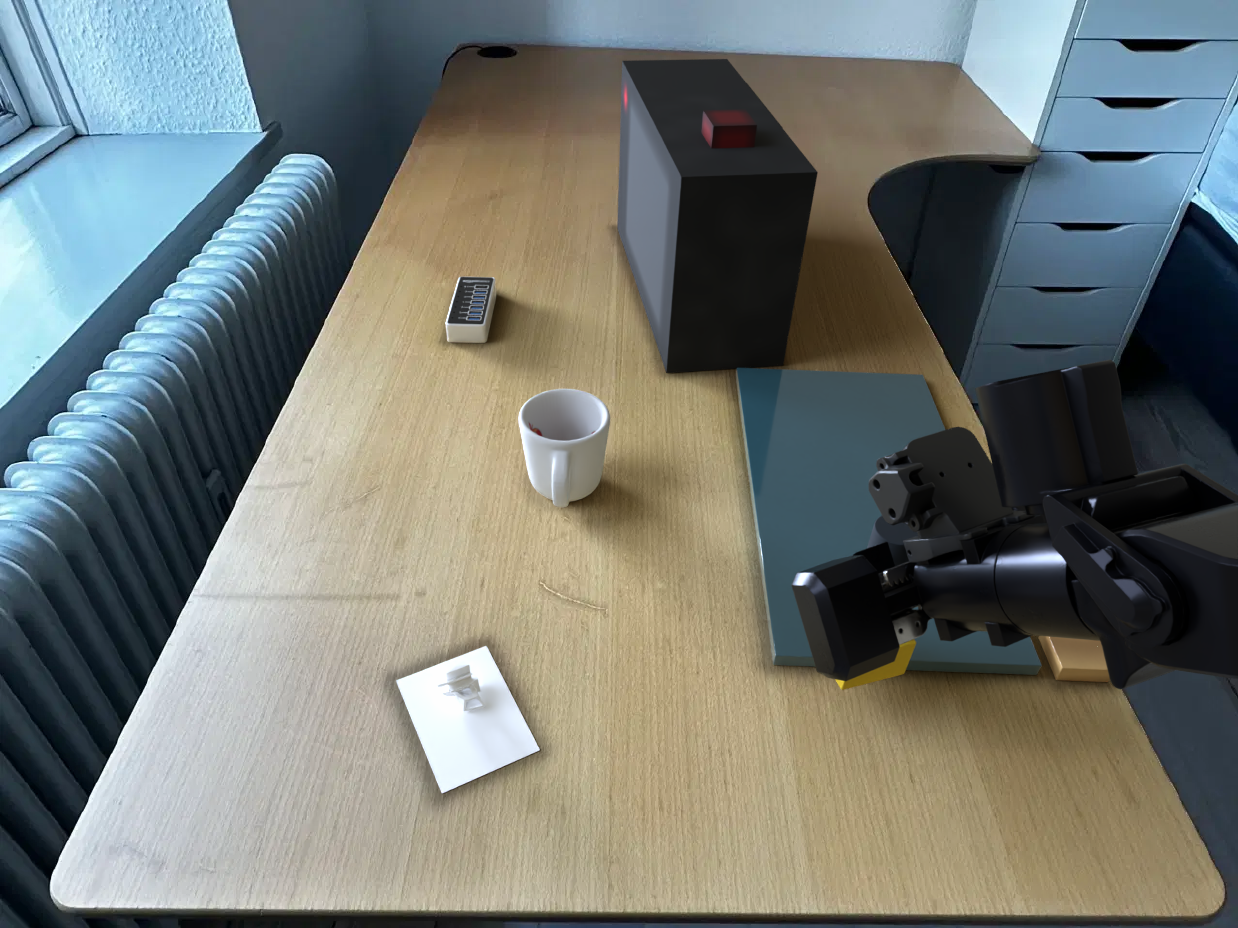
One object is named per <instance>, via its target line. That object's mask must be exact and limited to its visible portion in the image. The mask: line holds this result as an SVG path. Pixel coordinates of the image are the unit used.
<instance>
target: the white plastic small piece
mask: <svg viewBox="0 0 1238 928" xmlns="http://www.w3.org/2000/svg"><path fill="white" fill-rule="evenodd" d="M445 679H446V682H444V683H440V684H438V685H437V687H438V688H440V689H439V690H440V694H441V695H443V696H445V697H454V696H455V697H456V699H457V701H458V703H459V705H460V708H461V710H462V711H463V712H467V711H472V710H476V709H481V708H485V707H486V704H485V703H484V701H483V699H482V697H481V696H480V694H479V693H480V692H481V686H480V681H479V677H478V675H477V674H475V675H473V673H472V672H471V665H470V664H457V665H455V666H454V667H453V668H452V669H450V670H449V671H448V672H447V673H446V674H445Z"/></svg>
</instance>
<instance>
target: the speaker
mask: <svg viewBox="0 0 1238 928" xmlns="http://www.w3.org/2000/svg"><path fill="white" fill-rule="evenodd" d="M620 90H621V91H620V98H621V99H620V120H619V121H620V127H619V155H618V156H619V159H618V162H619V163H618V188H617V189H618V191H617V192H618V193H617V197H618V198H617V221H616V222H617V225H616V228H617V232H618V235H619V237H620V238H619V239H620V240H621V243H622V246H623V248H624V253H625V256H626V258H627V262H628V264H629V267H630V271H631V273H632V276H633V279H634V283H635V285H636V287H637V291H638V294H639V297H640V299H641V303H642V306H643V308H644V311H645V314H646V317H647V320H648V323H649V327H650V329H651V333H652V336H653V338H654V341H655V343H656V346H657V350H658V353H659V355H660V358H661V362H662V365H663V367H664V370H665V373H666V374H673V373H687V372H688V373H691V372H706V371H719V370H720V371H721V370H733V369H735V370H737V368H764V367H766V368H767V367H780V366H781V367H783V366H784V363H785V358H786V352H787V347H788V341H789V337H790V330H791V325H792V324H791V323H792V318H793V313H794V307H795V301H796V296H797V291H798V286H799V285H798V284H799V279H800V273H801V268H802V264H803V263H802V262H803V256H804V251H805V246H806V240H807V234H808V229H809V224H810V219H811V213H812V208H813V207H812V205H813V203H814V202H813V201H814V195H815V190H816V184H817V178H818V173H819V172H818V170H817V169H816V168H815V167H814V166H813V164H812V163H811V162H810V160H808V157H806V155H805V154H804V153H803V152H802V150H801V149H800V148H799V147H798V145H797V144H796V143H795V141H794V140H793V139H792V138H791V137H790V136H789V134H788V133H787V132H786V130H785V129H784V128H783V126H782V125H781V123H780V122H779V121H778V120H777V118H776V117H775V116H774V114H772V112H771V111H770V110H769V109H768V107H767V105H765V104H764V102H763V101H762V100H761V99H760V97H759V96H758V95H757V93H756V92H755V91H754V89H752V87H751V86H750V84H749V83H747V82H746V80H745V79H744V78H743V77H742V76H741V74H740V73H739V72H738V71H737V69H736V68H735V67H734V66H733V64H732V63H731V62H730V61H729V59H728V58H703V59H702V58H701V59H698V58H697V59H644V60H643V59H642V60H641V59H639V60H637V59H636V60H622V62H621V89H620Z"/></svg>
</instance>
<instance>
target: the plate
mask: <svg viewBox="0 0 1238 928" xmlns="http://www.w3.org/2000/svg"><path fill="white" fill-rule="evenodd" d="M735 383H736V390H737V397H738V405H739V413H740V420H741V430H742V436H743V443H744V452H745V460H746V467H747V474H748V481H749V489H750V498H751V504H752V513H753V521H754V529H755V536H756V543H757V551H758V552H757V553H758V559H759V566H760V574H761V582H762V589H763V590H762V591H763V599H764V605H765V612H766V620H767V629H768V637H769V644H770V651H771V659H772V665H773V666H787V667H789V666H791V667H813V668H816V667H815V663H814V660H813V657H812V653H811V650H810V646H809V643H808V640H807V636H806V633H805V630H804V626H803V623H802V619H801V616H800V613H799V609H798V606H797V602H796V599H795V596H794V592H793V589H792V586H791V585H792V583H793V580H794V578H795V576H796V574H797V573H798V572H801V571H804V570H806V569H809V568H812V567H815V566H818V565H821V564H823V563H826V562H829V561H832V560H835V559H840V558H844V557H849V556H852V555H853V554H854V553H856V552H858V551H861V550H864V549H867V546H868V543H869V540H870V536H871V533H872V530H873V527H874V523H875V521H876V520H877V519H878V518H879V517H880V516H882V514H881V512H880V511H879V509H878V507H877V505H876V503H875V501H874V499H873V497H872V496H871V494H870V492H869V480H870V478H871V477H873V476H874V475H875V474H876V473H877V472H878V469H877V466H876V462H877V460H878V459H879V458H883V457H886V456H889V455H892V454H894V453H896V452H899V451H901V450H902V449H903V448H904V447H905V446H906V445H907V444H908V443H910V442H911V441H912V440H914V439H917V438H921V437H924V436H927V435H930V434H934V433H937V432H940V431H943V430H946V427H945V425H944V423H943V420H942V418H941V415H940V412H939V411H938V408H937V405H936V403H935V401H934V397H933V396H932V393H931V390H930V389H929V386H928V384H927V381H926V379H925V377H924V374H920V373H919V374H918V373H916V374H915V373H890V372H867V371H866V372H865V371H863V372H862V371H839V370H837V371H836V370H811V369H785V368H784V369H781V368H780V369H779V368H761V367H752V368H736V369H735ZM913 609H916V610H918V607H915V608H913ZM914 640H915V641H916V645H915V648H914V650H913V653H912V655H911V658H910V660H909V663H908V665H907V668H906V671H923V672H948V673H950V672H951V673H974V674H975V673H976V674H1003V675H1024V676H1025V675H1027V676H1028V675H1029V676H1037V675H1038V674H1039V672H1040V670H1041V669H1042V666H1043V665H1042V662H1041V660H1040V657H1039V655H1038V653H1037V650H1036V647H1035V645H1034V642H1033V640H1032V638H1031V636H1030V637H1028V638H1025V639H1023V640H1021V641H1018V642H1016V643H1013V644H1011V645H1009V646H1006V647H1001V646H992V645H991V642H990V639H989V635H988V632H984V631H976V632H974V633H971V634H969V635H967V636H964V637H962V638H959V639H957V640H954V641H942V640H940V638H939V635H938V631H937V628H936V625H935V621H934V618H933V619H930V620H929V622H928V628H927V631H926V632H925V634H924V635H922V636H920V637H917V638H916V639H914Z"/></svg>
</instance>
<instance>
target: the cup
mask: <svg viewBox="0 0 1238 928" xmlns="http://www.w3.org/2000/svg"><path fill="white" fill-rule="evenodd" d="M518 426H519V427H518V428H519V432H520V438H521V443H522V449H523V453H524V460H525V464H526V470H527V474H528V478H529V481H530V484H531V485H532V487H533V488H534V490H535V491H536V492H537V493H538V494H540V495H541V496H543V497H544V498H545V499H548V500H550V501H551V500H552V504H553V506H554V507H555V508H566V507H568V506H569V503H570V502H575V501H579V500H582V499H584V498H586V497H588V496H589V495H591V494H592V493H593V492H594V491H595V490H596V488H597V487H598V486H599V484H600V482H601V479H602V475H603V470H604V466H605V465H604V464H605V459H606V452H607V446H608V439H609V432H610V427H611V413H610V410H609V408H608V407H607V405H606V403H604V402H603V400H602V399H600V398H599V397H597V396H596V395H594V394H592V393H590V392H587V391H584V390H580V389H574V388H555V389H549V390H546V391H542V392H540V393H538V394H535V395H534V396H532V397H531V398H529V399H528V400H527V401H526V402H524V404H523V405H522V407H521V408H520V410H519V413H518Z"/></svg>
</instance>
